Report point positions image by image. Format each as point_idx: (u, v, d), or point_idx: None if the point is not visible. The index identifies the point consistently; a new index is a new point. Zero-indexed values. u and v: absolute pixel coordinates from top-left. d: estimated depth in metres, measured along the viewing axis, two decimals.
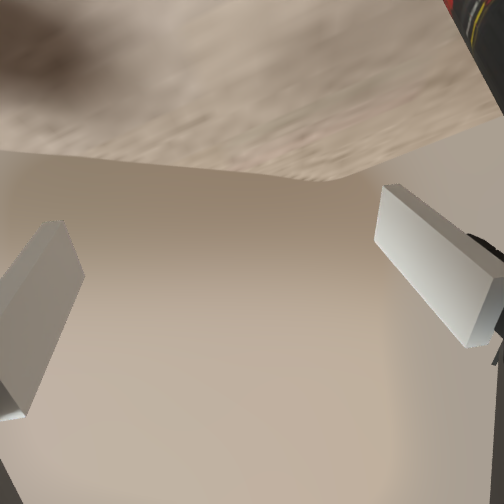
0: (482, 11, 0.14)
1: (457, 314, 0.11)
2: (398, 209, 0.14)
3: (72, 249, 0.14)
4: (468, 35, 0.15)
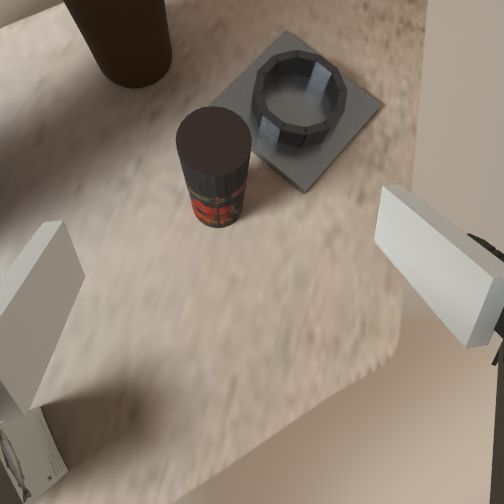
0: (195, 193, 0.33)
1: (457, 314, 0.11)
2: (398, 209, 0.14)
3: (72, 249, 0.14)
4: (208, 200, 0.33)
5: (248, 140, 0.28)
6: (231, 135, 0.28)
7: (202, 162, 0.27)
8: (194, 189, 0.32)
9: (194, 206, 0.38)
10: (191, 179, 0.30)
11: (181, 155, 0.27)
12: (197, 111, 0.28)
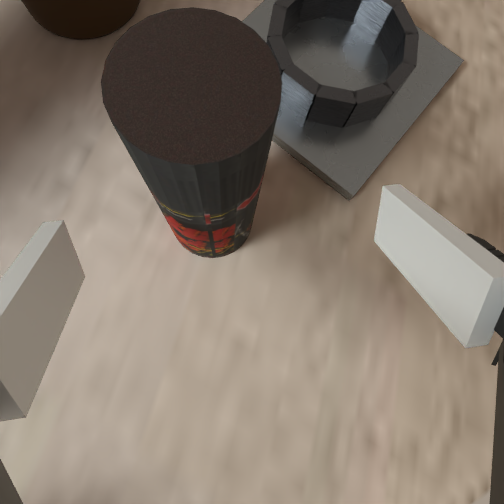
0: (163, 204, 0.17)
1: (457, 314, 0.11)
2: (398, 209, 0.14)
3: (72, 249, 0.14)
4: (190, 218, 0.17)
5: (273, 82, 0.12)
6: (235, 71, 0.12)
7: (164, 134, 0.11)
8: (160, 197, 0.16)
9: (170, 225, 0.22)
10: (148, 176, 0.14)
11: (113, 117, 0.11)
12: (154, 18, 0.12)
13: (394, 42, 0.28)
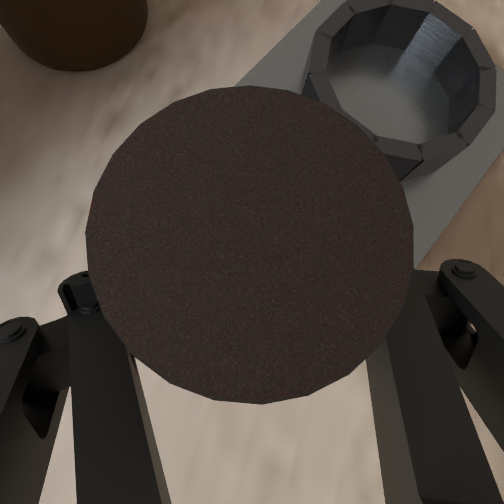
0: None
1: None
2: None
3: None
4: None
5: (398, 226, 0.07)
6: (329, 206, 0.07)
7: (204, 340, 0.06)
8: None
9: None
10: None
11: (107, 307, 0.06)
12: (182, 107, 0.07)
13: (461, 78, 0.22)
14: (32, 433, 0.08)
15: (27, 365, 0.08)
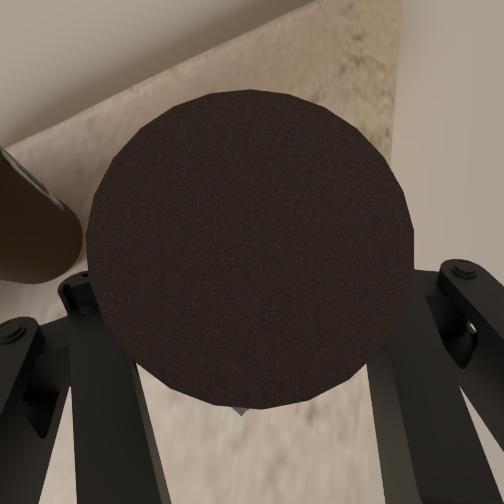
0: None
1: None
2: None
3: None
4: None
5: (399, 231, 0.07)
6: (329, 211, 0.07)
7: (205, 344, 0.06)
8: None
9: None
10: None
11: (107, 312, 0.06)
12: (183, 111, 0.07)
13: None
14: (32, 433, 0.08)
15: (27, 365, 0.08)
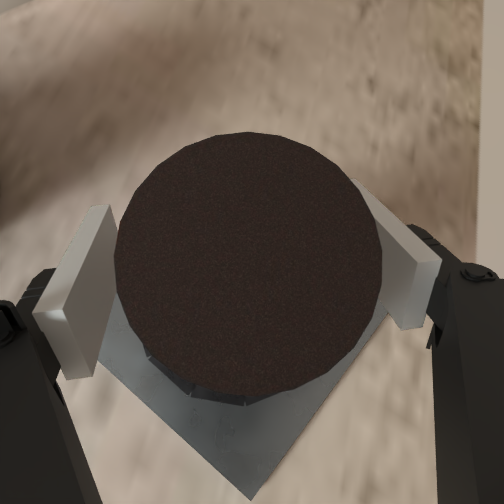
0: None
1: (394, 298, 0.12)
2: None
3: (116, 232, 0.15)
4: None
5: (370, 251, 0.08)
6: (313, 234, 0.08)
7: (210, 344, 0.07)
8: None
9: None
10: None
11: (132, 318, 0.07)
12: (192, 150, 0.08)
13: None
14: None
15: None
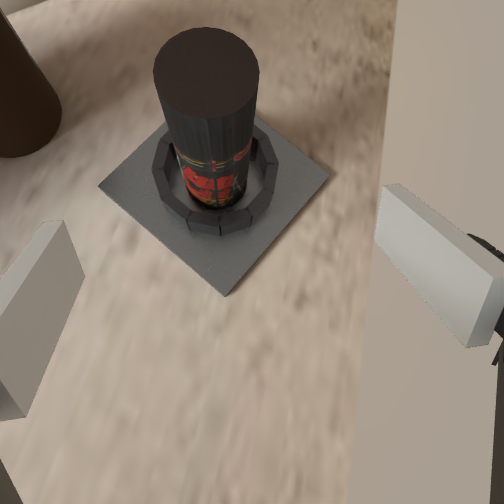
0: (184, 155, 0.25)
1: (457, 314, 0.11)
2: (398, 209, 0.14)
3: (72, 249, 0.14)
4: (202, 165, 0.25)
5: (254, 72, 0.20)
6: (231, 65, 0.20)
7: (190, 101, 0.19)
8: (182, 149, 0.24)
9: (186, 180, 0.30)
10: (177, 131, 0.22)
11: (160, 91, 0.19)
12: (183, 33, 0.20)
13: (264, 166, 0.33)
14: None
15: None
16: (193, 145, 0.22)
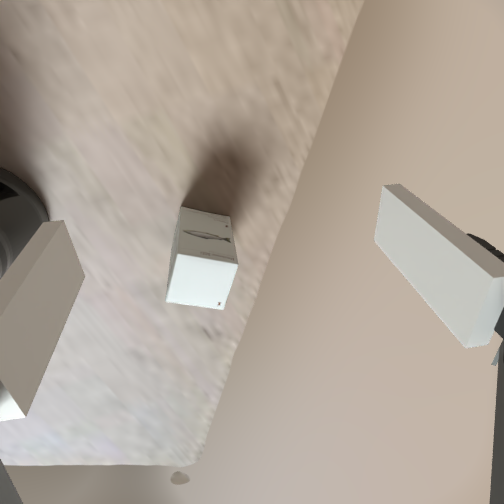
0: None
1: (457, 314, 0.11)
2: (398, 209, 0.14)
3: (72, 249, 0.14)
4: None
5: None
6: None
7: None
8: None
9: None
10: None
11: None
12: None
13: None
14: None
15: None
16: None
